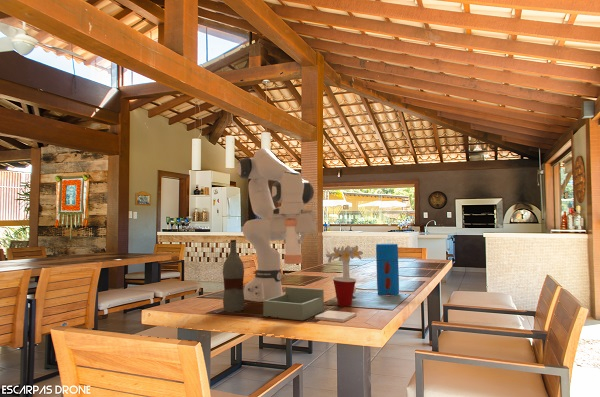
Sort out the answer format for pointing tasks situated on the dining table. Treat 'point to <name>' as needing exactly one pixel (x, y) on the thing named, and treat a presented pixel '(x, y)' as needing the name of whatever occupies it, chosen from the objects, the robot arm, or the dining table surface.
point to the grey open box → (295, 304)
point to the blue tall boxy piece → (387, 269)
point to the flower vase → (345, 258)
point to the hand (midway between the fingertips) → (293, 243)
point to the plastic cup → (344, 290)
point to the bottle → (233, 281)
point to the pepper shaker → (292, 243)
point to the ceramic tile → (335, 316)
